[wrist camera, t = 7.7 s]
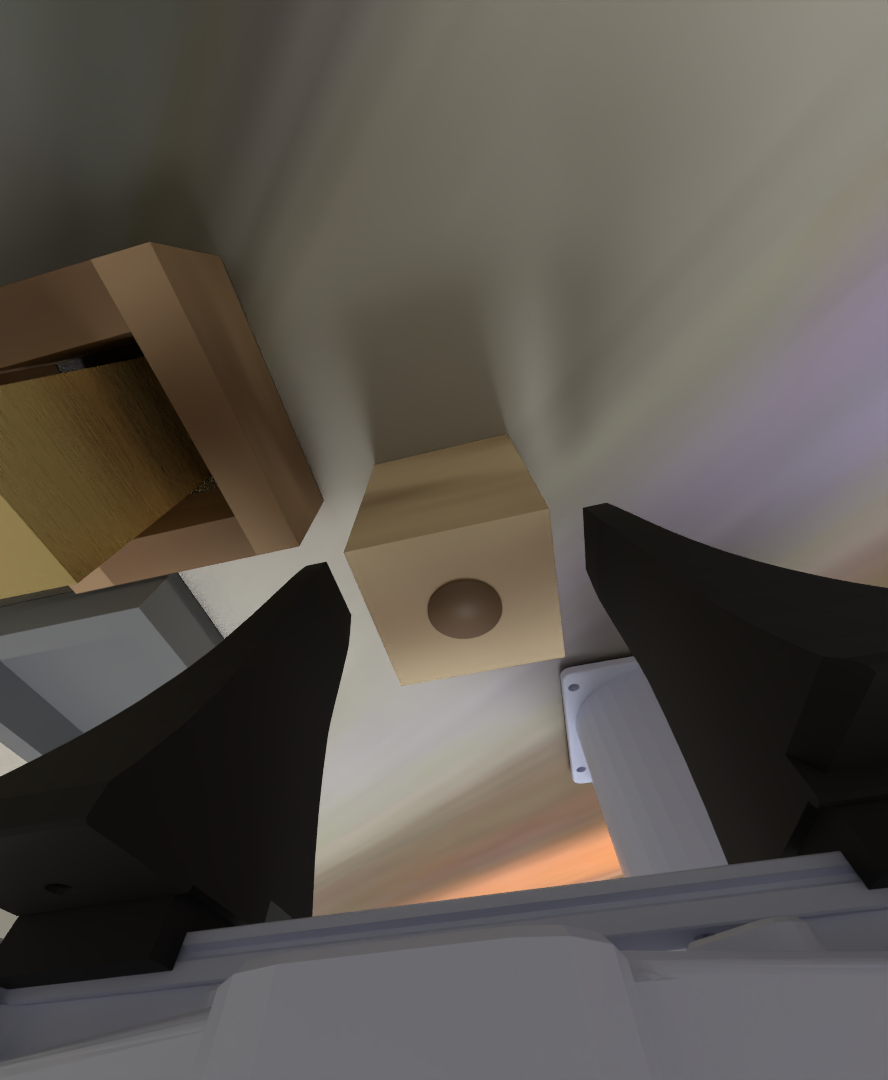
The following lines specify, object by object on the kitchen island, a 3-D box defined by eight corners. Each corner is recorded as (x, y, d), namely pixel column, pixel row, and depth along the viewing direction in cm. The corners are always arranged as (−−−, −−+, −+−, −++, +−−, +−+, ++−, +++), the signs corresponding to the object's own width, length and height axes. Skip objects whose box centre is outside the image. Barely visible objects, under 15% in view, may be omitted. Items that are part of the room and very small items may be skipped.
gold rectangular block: (239, 453, 13) (77, 583, 7) (150, 473, 13) (-79, 615, 7) (187, 348, 11) (-81, 401, 5) (87, 373, 12) (-272, 450, 6)
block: (524, 547, 15) (565, 658, 11) (411, 570, 16) (401, 688, 11) (507, 433, 13) (550, 509, 8) (375, 464, 13) (343, 554, 9)
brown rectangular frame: (324, 500, 14) (299, 546, 11) (138, 542, 15) (76, 594, 12) (220, 256, 10) (150, 241, 8) (-21, 326, 11) (-158, 334, 8)
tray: (284, 725, 20) (269, 768, 19) (109, 755, 21) (78, 799, 19) (174, 569, 15) (138, 607, 13) (-50, 617, 16) (-112, 659, 14)
